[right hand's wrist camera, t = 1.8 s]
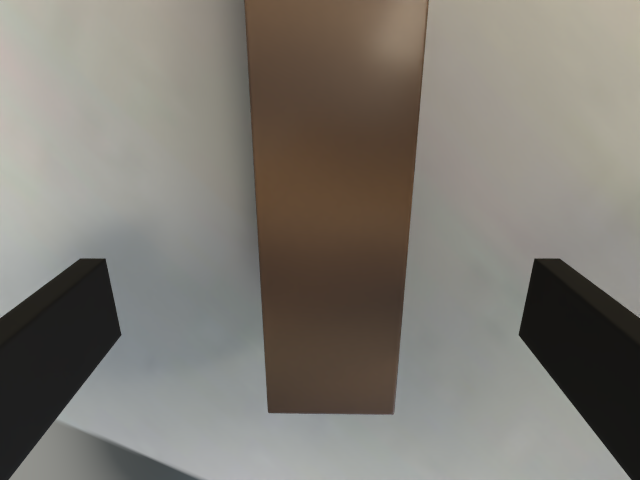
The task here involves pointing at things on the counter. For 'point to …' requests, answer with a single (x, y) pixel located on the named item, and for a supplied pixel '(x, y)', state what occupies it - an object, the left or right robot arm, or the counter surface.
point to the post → (334, 193)
